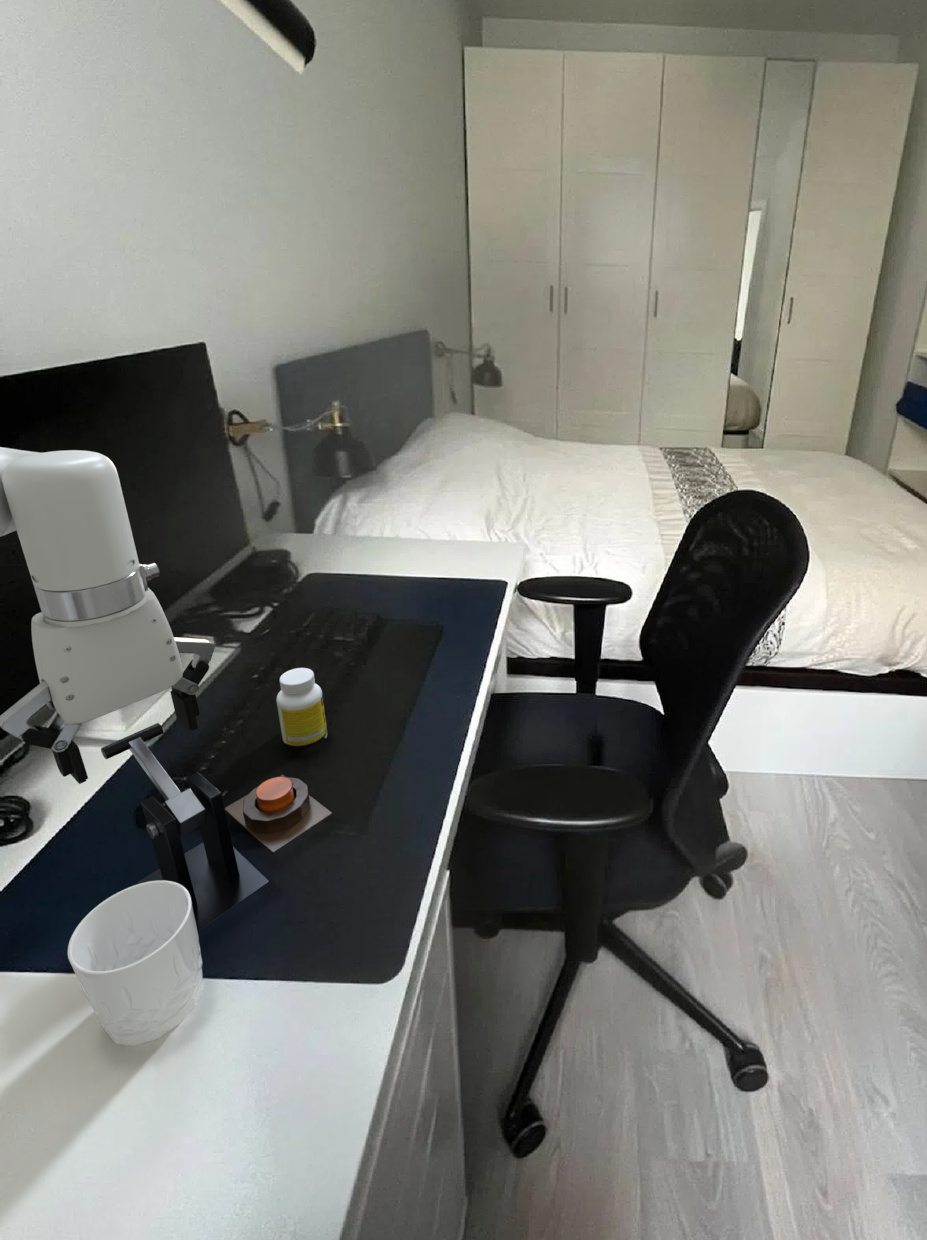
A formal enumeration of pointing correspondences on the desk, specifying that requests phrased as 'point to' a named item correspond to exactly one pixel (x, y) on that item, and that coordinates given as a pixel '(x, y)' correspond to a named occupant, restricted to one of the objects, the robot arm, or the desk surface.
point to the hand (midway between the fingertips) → (136, 749)
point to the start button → (275, 794)
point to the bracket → (202, 857)
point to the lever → (161, 779)
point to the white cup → (140, 961)
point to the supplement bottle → (301, 708)
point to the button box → (279, 816)
